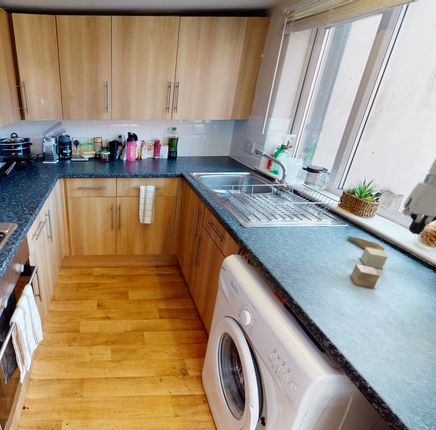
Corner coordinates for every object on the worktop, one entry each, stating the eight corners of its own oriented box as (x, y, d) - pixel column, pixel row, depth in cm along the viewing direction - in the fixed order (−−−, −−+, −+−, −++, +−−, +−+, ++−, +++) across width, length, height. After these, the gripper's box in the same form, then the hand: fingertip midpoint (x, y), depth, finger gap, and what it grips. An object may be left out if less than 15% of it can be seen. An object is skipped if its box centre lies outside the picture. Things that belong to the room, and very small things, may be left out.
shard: (346, 238, 123) (347, 235, 122) (363, 238, 123) (364, 234, 123) (367, 252, 113) (369, 248, 112) (386, 252, 114) (387, 248, 113)
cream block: (376, 261, 107) (382, 250, 105) (381, 268, 103) (387, 257, 101) (360, 258, 109) (365, 247, 107) (364, 265, 105) (370, 253, 103)
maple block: (368, 279, 97) (374, 267, 95) (373, 288, 93) (380, 275, 91) (350, 275, 99) (355, 263, 97) (355, 284, 94) (360, 271, 92)
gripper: (465, 181, 90) (436, 232, 98) (405, 174, 95) (382, 223, 103) (482, 188, 84) (449, 242, 92) (417, 181, 89) (391, 232, 97)
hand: (414, 232), depth 97 cm, fingers closed
